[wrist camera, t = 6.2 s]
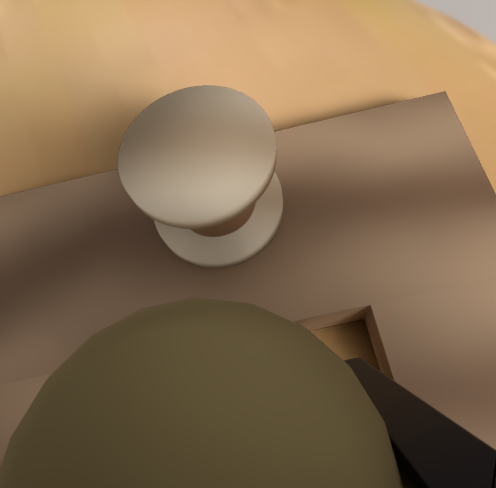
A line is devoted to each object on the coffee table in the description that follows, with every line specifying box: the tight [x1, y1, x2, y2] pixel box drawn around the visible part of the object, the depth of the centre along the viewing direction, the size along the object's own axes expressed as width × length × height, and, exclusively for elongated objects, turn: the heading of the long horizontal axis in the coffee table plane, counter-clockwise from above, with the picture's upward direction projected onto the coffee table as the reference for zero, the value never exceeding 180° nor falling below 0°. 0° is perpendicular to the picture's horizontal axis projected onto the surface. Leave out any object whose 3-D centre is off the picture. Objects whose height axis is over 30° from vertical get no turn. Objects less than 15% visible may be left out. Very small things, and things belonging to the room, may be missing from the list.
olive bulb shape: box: [0, 297, 403, 488], centre depth 9 cm, size 6×6×11 cm
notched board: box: [0, 85, 496, 468], centre depth 14 cm, size 16×20×6 cm
